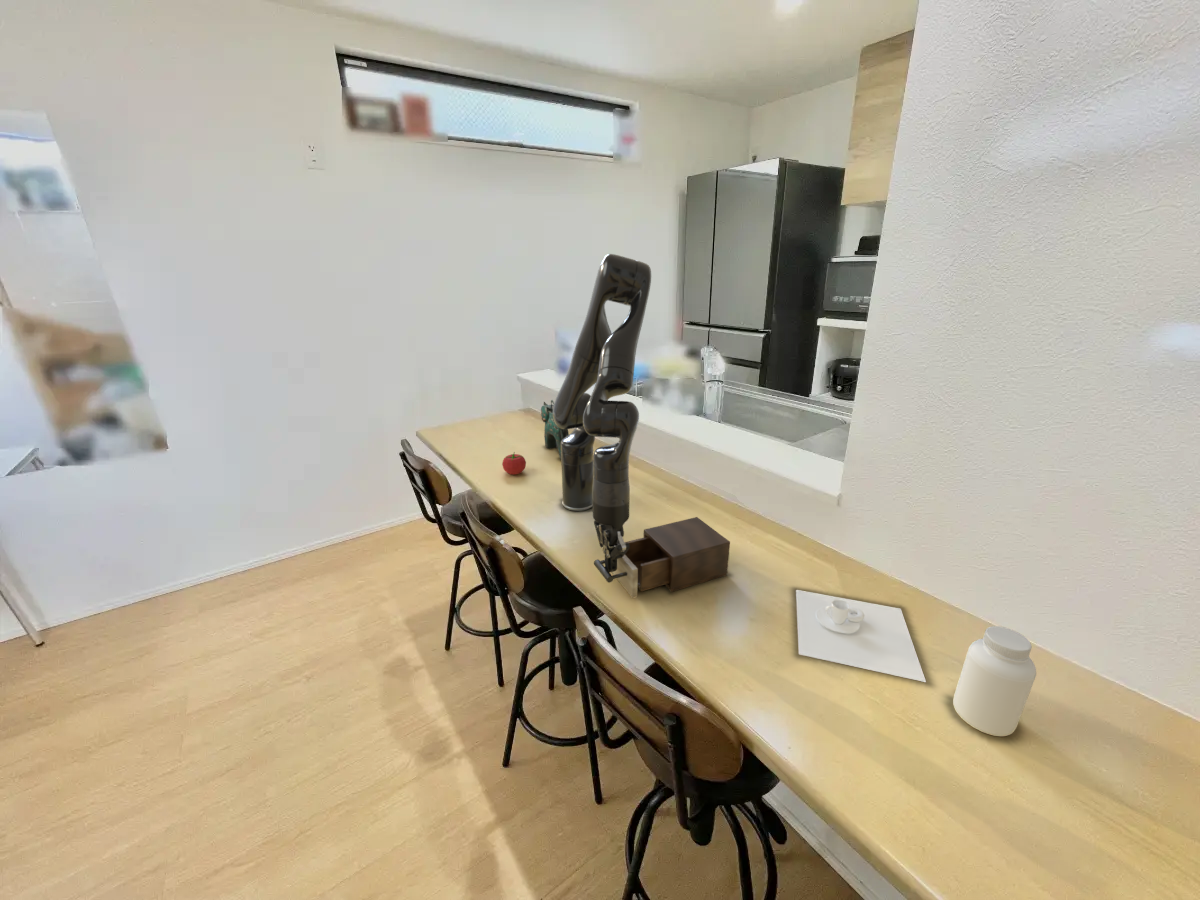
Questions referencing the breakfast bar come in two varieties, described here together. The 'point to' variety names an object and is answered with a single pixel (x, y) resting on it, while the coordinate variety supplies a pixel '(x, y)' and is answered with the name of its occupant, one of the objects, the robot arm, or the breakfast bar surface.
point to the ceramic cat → (552, 428)
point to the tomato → (514, 464)
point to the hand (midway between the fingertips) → (610, 569)
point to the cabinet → (691, 551)
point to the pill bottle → (995, 681)
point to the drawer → (639, 567)
